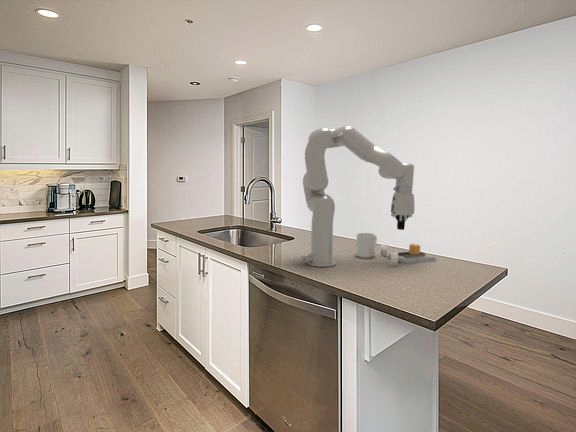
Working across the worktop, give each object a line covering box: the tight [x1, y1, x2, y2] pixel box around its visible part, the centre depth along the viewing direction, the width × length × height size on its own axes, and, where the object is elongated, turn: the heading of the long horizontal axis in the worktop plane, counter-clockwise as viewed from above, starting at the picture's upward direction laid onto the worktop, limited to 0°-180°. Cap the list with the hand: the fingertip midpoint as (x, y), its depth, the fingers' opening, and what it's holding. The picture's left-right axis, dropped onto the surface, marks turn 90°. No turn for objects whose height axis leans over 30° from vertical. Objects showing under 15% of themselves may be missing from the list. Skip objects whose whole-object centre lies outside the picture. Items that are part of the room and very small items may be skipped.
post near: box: [390, 251, 399, 268], centre depth 163 cm, size 3×3×6 cm
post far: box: [380, 243, 388, 258], centre depth 182 cm, size 3×3×6 cm
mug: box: [355, 232, 378, 259], centre depth 181 cm, size 12×9×11 cm
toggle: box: [408, 242, 421, 255], centre depth 175 cm, size 3×4×5 cm
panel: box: [387, 251, 437, 265], centre depth 175 cm, size 18×12×3 cm, turn 108°
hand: (400, 229), depth 172 cm, fingers closed
